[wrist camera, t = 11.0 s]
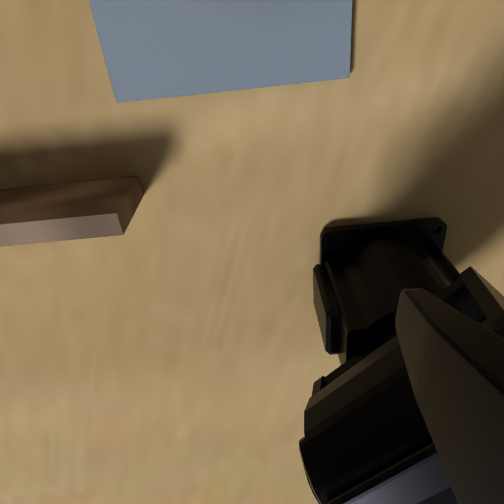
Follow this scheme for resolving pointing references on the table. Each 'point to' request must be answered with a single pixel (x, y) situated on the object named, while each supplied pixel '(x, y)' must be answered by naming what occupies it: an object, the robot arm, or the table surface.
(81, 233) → the brown open boxy piece
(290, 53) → the slate mat
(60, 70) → the table surface
